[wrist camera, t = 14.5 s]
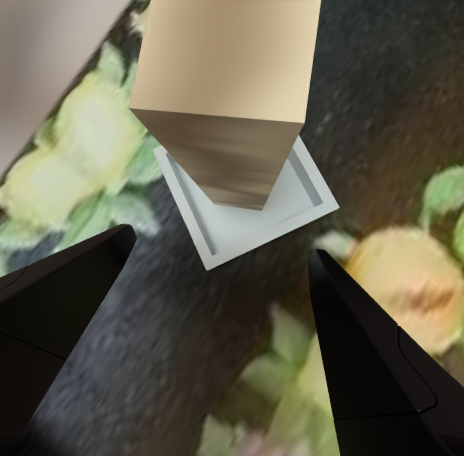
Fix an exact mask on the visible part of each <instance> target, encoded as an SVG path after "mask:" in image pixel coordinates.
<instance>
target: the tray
mask: <svg viewBox="0 0 464 456" xmlns="http://www.w3.org/2000/svg"><path fill="white" fill-rule="evenodd" d="M153 152H154V154H155V156H156V159H157V161H158V163H159V165H160V167H161V170H162V172H163V174H164V176H165V179H166V181H167V183H168V185H169V188H170V190H171V192H172V194H173V197H174V199H175V201H176V203H177V205H178V208H179V210H180V212H181V214H182V217H183V219H184V221H185V223H186V226H187V228H188V230H189V232H190V235H191V237H192V239H193V241H194V244H195V246H196V248H197V250H198V252H199V255H200V257H201V259H202V261H203V264H204V266H205V268H206V270H207V271H208V270H210V269H212V268H214V267H216V266H218V265H220V264H223V263H225V262H227V261H229V260H231V259H233V258H235V257H237V256H239V255H241V254H244V253H246V252H248V251H250V250H252V249H254V248H256V247H258V246H260V245H263V244H265V243H267V242H269V241H271V240H273V239H275V238H277V237H279V236H281V235H284V234H286V233H288V232H290V231H292V230H294V229H296V228H298V227H300V226H302V225H305V224H307V223H309V222H311V221H313V220H315V219H317V218H319V217H321V216H323V215H326V214H328V213H330V212H332V211H334V210H336V209H338V208H339V206H338V204H337V202H336V200H335V199H334V197H333V195H332V193H331V192H330V190H329V188H328V186H327V184H326V183H325V181H324V179H323V177H322V176H321V174H320V172H319V170H318V168H317V167H316V165H315V163H314V161H313V160H312V158H311V156H310V154H309V153H308V151H307V149H306V147H305V145H304V144H303V142H302V140H301V138H300V137H299V135H298V137H297V139H296V141H295V143H294V145H293V147H292V150H291V152H290V154H289V156H288V158H287V160H286V162H285V164H284V166H283V168H282V170H281V172H280V174H279V176H278V178H277V180H276V183H275V185H274V187H273V189H272V191H271V193H270V195H269V197H268V199H267V201H266V203H265V205H264V207H263V209H262V211H259V210H251V209H244V208H237V207H230V206H222V205H215V204H213V202H212V201H211V200H210V199H209V198H208V197H207V196H206V195H205V193H204V192H203V191H202V190H201V189H200V188H199V187H198V186H197V184H196V183H195V182H194V181H193V180H192V179H191V178H190V177H189V175H188V174H187V173H186V172H185V171H184V170H183V169H182V168H181V166H180V165H179V164H178V163H177V162H176V161H175V160H174V158H173V157H172V156H171V155H170V154H169V153H168V152H167V151H166V149H165V148H164V147H163V146H162V145H161V146H159V147H157V148H155V149H153Z"/></svg>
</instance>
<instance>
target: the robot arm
mask: <svg viewBox="0 0 464 456" xmlns="http://www.w3.org/2000/svg"><path fill="white" fill-rule="evenodd" d="M136 240H137V236H136V234H135V232H134V230H133V228H132V226H131V225H129V224H120V225H118V226H116V227H113V228H111V229H109V230H107V231H104V232H102V233H100V234H98V235H95V236H93V237H91V238H89V239H86V240H84V241H82V242H80V243H77V244H75V245H73V246H71V247H68V248H66V249H64V250H62V251H59V252H57V253H55V254H52V255H50V256H48V257H46V258H43V259H41V260H39V261H37V262H34V263H32V264H31V265H28V266H25V267H23V268H21V269H19V270H16V271H14V272H12V273H9V274H7V275H5V276H2V277H0V437H2V436H19V435H20V434H21V433H22V431H23V430H24V428H25V427H26V425H27V424H28V422H29V420H30V419H31V417H32V416H33V414H34V412H35V411H36V409H37V407H38V406H39V404H40V402H41V401H42V399H43V398H44V396H45V394H46V393H47V391H48V389H49V388H50V386H51V385H52V383H53V381H54V380H55V378H56V376H57V375H58V373H59V372H60V370H61V368H62V367H63V365H64V363H65V362H66V359H67V358H68V357H69V355H70V353H71V352H72V350H73V348H74V347H75V345H76V344H77V342H78V340H79V339H80V337H81V335H82V334H83V332H84V331H85V329H86V327H87V326H88V324H89V322H90V321H91V319H92V318H93V316H94V314H95V313H96V311H97V309H98V308H99V306H100V305H101V303H102V301H103V300H104V298H105V296H106V295H107V293H108V291H109V290H110V288H111V287H112V285H113V283H114V282H115V280H116V278H117V277H118V275H119V274H120V272H121V270H122V269H123V267H124V265H125V263H126V261H127V259H128V257H129V255H130V253H131V251H132V249H133V246H134V244H135V242H136ZM308 273H309V287H310V297H311V303H312V308H313V313H314V319H315V324H316V329H317V335H318V340H319V345H320V350H321V356H322V361H323V366H324V371H325V377H326V382H327V387H328V392H329V398H330V403H331V408H332V414H333V418H334V425H335V430H336V435H337V441H338V446H339V451H340V456H464V387H463V386H462V385H461V384H460V383H459V382H458V381H456V380H455V379H454V378H453V377H452V376H451V375H450V374H449V373H448V372H447V371H446V370H445V369H443V368H442V367H441V366H440V365H439V364H438V363H437V362H436V361H435V360H434V359H433V358H432V357H431V356H430V355H429V354H428V353H427V352H425V351H424V350H423V349H422V348H421V347H420V346H419V345H418V344H417V343H416V342H415V341H414V340H413V339H412V338H411V337H410V336H409V335H408V334H407V333H406V332H405V331H404V330H403V329H402V328H401V327H400V326H398V324H397V323H396V322H395V321H394V320H393V319H392V318H391V317H390V316H389V315H388V313H387V312H386V311H385V310H384V309H383V308H382V307H381V306H380V305H379V304H378V303H377V302H376V301H375V300H374V299H373V298H372V297H371V296H370V295H369V294H368V293H367V292H366V291H365V290H364V289H363V288H362V287H361V286H360V285H359V284H358V283H357V282H356V281H355V280H354V279H353V278H352V277H351V276H350V275H349V274H348V273H347V272H346V271H345V270H344V269H343V268H342V267H341V266H340V265H339V264H338V263H337V262H336V261H335V260H334V259H333V258H332V257H331V256H330V255H329V254H328V253H327V252H326V251H325V250H323V249H314V250H313V252H312V254H311V256H310V258H309V261H308Z"/></svg>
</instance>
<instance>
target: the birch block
mask: <svg viewBox="0 0 464 456" xmlns="http://www.w3.org/2000/svg"><path fill="white" fill-rule="evenodd" d="M320 4H321V0H151V3H150V7H149V12H148V17H147V22H146V27H145V32H144V36H143V41H142V46H141V51H140V56H139V61H138V66H137V70H136V75H135V80H134V85H133V90H132V95H131V100H130V104H129V109H130V110H131V111H132V112H133V113H134V115H135V116H136V117H137V118H138V119H139V120H140V121H141V122H142V124H143V125H144V126H145V127H146V128H147V129H148V130H149V131H150V133H151V134H152V135H153V136H154V137H155V138H156V139H157V140H158V142H159V143H160V144H161V145H162V146H163V147H164V148H165V149H166V151H167V152H168V153H169V154H170V155H171V156H172V157H173V158H174V160H175V161H176V162H177V163H178V164H179V165H180V166H181V168H182V169H183V170H184V171H185V172H186V173H187V174H188V175H189V177H190V178H191V179H192V180H193V181H194V182H195V183H196V184H197V186H198V187H199V188H200V189H201V190H202V191H203V192H204V193H205V195H206V196H207V197H208V198H209V199H210V200H211V201H212V202H213V204H215V205H222V206H230V207H237V208H244V209H251V210H259V211H262V209H263V207H264V205H265V203H266V201H267V199H268V197H269V195H270V193H271V191H272V189H273V187H274V185H275V183H276V180H277V178H278V176H279V174H280V172H281V170H282V168H283V166H284V164H285V162H286V160H287V158H288V156H289V154H290V152H291V150H292V147H293V145H294V143H295V141H296V139H297V137H298V135H299V133H300V131H301V129H302V127H303V125H304V122H305V115H306V107H307V100H308V92H309V85H310V78H311V70H312V63H313V55H314V48H315V41H316V33H317V26H318V18H319V11H320Z"/></svg>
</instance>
